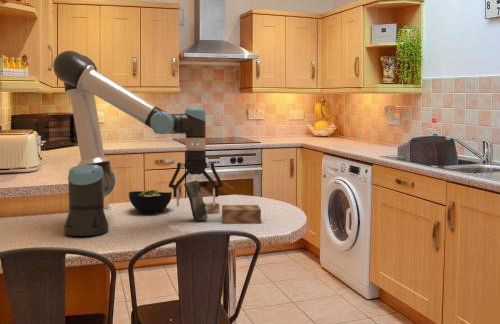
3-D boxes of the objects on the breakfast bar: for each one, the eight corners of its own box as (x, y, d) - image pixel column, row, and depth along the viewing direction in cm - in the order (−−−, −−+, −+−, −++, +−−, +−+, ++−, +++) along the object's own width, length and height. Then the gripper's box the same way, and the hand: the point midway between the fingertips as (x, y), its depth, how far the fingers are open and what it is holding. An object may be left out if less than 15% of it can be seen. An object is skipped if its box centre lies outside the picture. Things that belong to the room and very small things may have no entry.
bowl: (164, 217, 212) (164, 192, 211) (122, 216, 215) (122, 191, 214) (176, 211, 229) (176, 188, 228) (138, 210, 231) (137, 187, 231)
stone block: (196, 223, 201) (209, 218, 202) (185, 185, 199) (199, 181, 200) (193, 219, 209) (206, 215, 210) (183, 183, 208) (196, 179, 209)
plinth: (222, 223, 199) (222, 210, 198) (222, 217, 213) (222, 205, 212) (260, 223, 200) (260, 209, 199) (257, 217, 213) (257, 204, 213)
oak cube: (207, 216, 216) (207, 204, 216) (204, 214, 221) (204, 202, 221) (219, 216, 218) (219, 203, 217) (216, 214, 222) (216, 202, 222)
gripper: (161, 150, 199) (161, 207, 200) (229, 149, 201) (229, 206, 202) (163, 149, 207) (163, 205, 208) (228, 149, 208) (228, 204, 209)
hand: (196, 206), depth 205 cm, fingers open, 13 cm apart
